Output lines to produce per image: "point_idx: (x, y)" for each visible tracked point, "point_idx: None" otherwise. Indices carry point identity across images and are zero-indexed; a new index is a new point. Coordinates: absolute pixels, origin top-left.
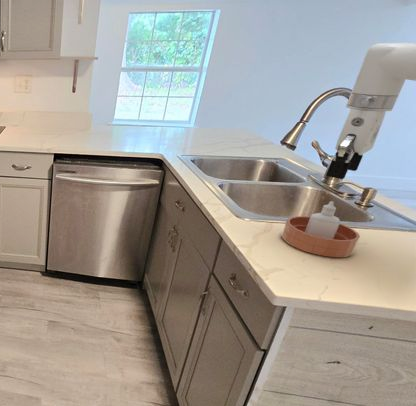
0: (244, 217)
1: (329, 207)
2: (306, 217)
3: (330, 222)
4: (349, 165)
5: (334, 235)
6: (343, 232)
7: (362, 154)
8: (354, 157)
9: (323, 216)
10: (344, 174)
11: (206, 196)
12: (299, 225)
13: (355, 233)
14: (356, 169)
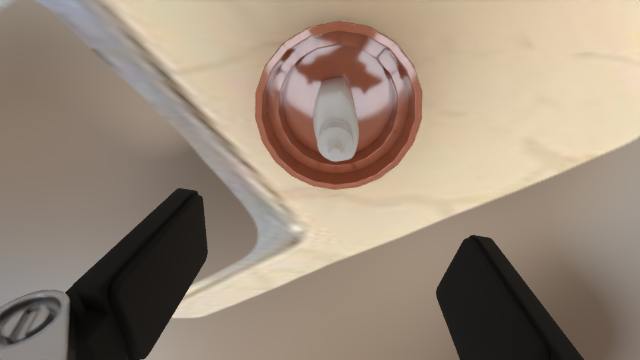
0: (288, 232)
1: (349, 145)
2: (279, 156)
3: (355, 112)
4: (554, 333)
5: (342, 82)
6: (279, 63)
7: (48, 293)
8: (141, 298)
9: (354, 138)
10: (505, 263)
11: (232, 293)
12: (299, 154)
13: (313, 35)
14: (192, 194)
